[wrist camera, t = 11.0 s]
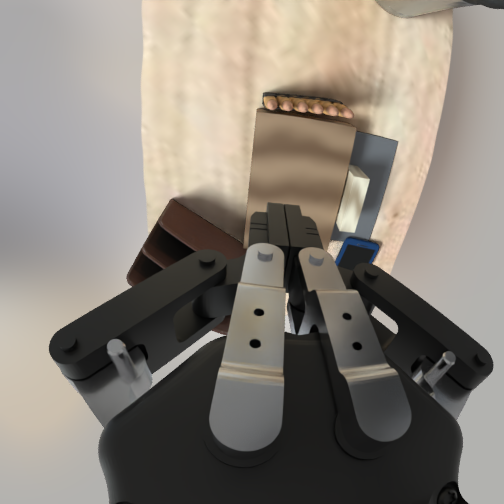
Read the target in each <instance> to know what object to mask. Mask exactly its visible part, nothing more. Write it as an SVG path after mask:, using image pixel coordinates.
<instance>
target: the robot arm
mask: <svg viewBox="0 0 504 504" xmlns="http://www.w3.org/2000/svg"><path fill="white" fill-rule="evenodd" d="M376 2H377V3H378V4H379V5H380V6H381V7H382V8H383V9H384V10H386V11H387V12H389V13H390V14H392V15H395V16H397V17H401V18H410V17H414V16H418V15H423V14H427V13H432V12H436V11H441V10H447V9H452V8H458V7H465V6H472V5H484V6H486V7H489V8H493V9H504V0H376ZM286 293H289V299H288V303H287V311H288V317H289V322H290V328H291V333H287V332H284V329H285V297H286ZM375 306H376V307H377V308H379V309H380V310H381V311H383V312H384V313H385V314H386V315H388V316H389V317H390V318H391V319H393V320H394V321H395V322H396V323H397V325H398V333H397V334H394V333H393V332H392V331H390V330H389V329H388V328H387V327H385V326H384V325H383V324H382V323H380V322H379V321H378V320H377V319H376V318H374V317H373V316H372V315H371V313H372V311H373V309H374V307H375ZM227 315H231V320H230V325H229V330H228V335H226V336H223V337H220V338H217V339H215V340H213V341H210V342H209V343H207V344H206V345H204V346H203V347H201V348H200V349H199V350H198V351H196V352H195V353H194V354H193V355H192V356H190V357H189V358H188V359H187V360H186V361H184V362H183V363H182V364H181V365H179V366H178V367H177V368H176V369H175V370H173V371H172V372H171V373H170V374H168V375H167V376H166V377H165V378H163V379H162V380H161V381H160V382H158V383H157V384H156V385H155V386H153V387H152V388H151V389H150V387H151V384H152V375H151V374H153V373H154V372H156V371H157V370H158V369H160V368H161V367H162V366H164V365H165V364H167V363H168V362H169V361H171V360H172V359H173V358H175V357H176V356H177V355H179V354H180V353H181V352H183V351H184V350H186V349H187V348H188V347H190V346H191V345H192V344H193V343H195V342H196V341H197V340H199V339H200V338H201V337H203V336H204V335H205V334H207V333H208V332H209V331H211V330H212V329H213V328H215V327H216V326H217V325H219V324H220V323H221V322H222V321H223V320H224V318H225V316H227ZM49 352H50V355H51V357H52V358H53V360H54V361H55V362H56V364H57V365H58V367H59V368H60V369H61V372H62V374H63V375H64V376H65V378H66V379H67V380H68V381H69V383H70V384H71V385H72V386H73V387H74V388H75V390H76V391H77V392H78V393H79V394H81V395H82V397H83V398H84V400H85V402H86V403H87V405H88V406H89V408H90V409H91V410H92V412H93V413H94V415H95V416H96V417H97V419H98V420H99V422H100V423H101V424H102V426H103V427H104V430H103V432H102V434H101V437H100V440H99V447H98V448H99V449H98V453H99V460H100V464H101V467H102V470H103V473H104V476H105V479H106V483H107V488H108V494H109V504H468V503H467V502H466V501H465V500H464V499H463V498H462V496H461V494H460V492H459V487H458V472H459V464H460V458H461V453H462V448H463V437H462V432H461V429H460V426H459V424H458V423H457V421H456V420H457V419H458V417H459V415H460V413H461V411H462V409H463V407H464V405H465V403H466V401H467V399H468V397H469V395H470V393H471V392H472V391H473V390H474V389H475V388H476V387H477V386H478V385H479V384H480V383H481V382H482V381H483V380H484V379H485V378H486V377H488V376H489V375H490V373H491V372H492V370H493V360H492V358H491V356H490V354H489V353H488V351H487V350H486V349H485V348H484V347H482V346H481V345H480V344H479V343H478V342H476V341H475V340H474V339H473V338H471V337H470V336H469V335H468V334H467V333H465V332H464V331H463V330H462V329H460V328H459V327H458V326H457V325H455V324H454V323H453V322H452V321H450V320H449V319H448V318H447V317H445V316H444V315H443V314H441V313H440V312H439V311H438V310H436V309H435V308H434V307H432V306H431V305H430V304H428V303H427V302H426V301H424V300H423V299H422V298H420V297H419V296H418V295H416V294H415V293H414V292H412V291H411V290H410V289H408V288H407V287H406V286H404V285H403V284H402V283H400V282H399V281H397V280H396V279H394V278H393V277H392V276H390V275H389V274H388V273H386V272H385V271H383V270H382V269H381V268H379V267H377V266H375V265H373V264H370V263H360V264H357V265H356V266H355V268H354V271H352V270H348V269H345V268H342V267H339V266H337V265H336V263H335V261H334V259H333V257H332V256H331V255H330V254H329V253H328V252H327V251H325V250H324V248H323V245H322V242H321V238H320V235H319V232H318V230H317V226H316V223H315V222H314V221H313V220H312V219H311V218H310V217H309V216H302V213H301V209H300V206H299V205H291V204H284V205H283V204H281V203H271V202H267V208H266V212H257V211H255V212H254V213H253V214H252V215H251V218H250V229H249V240H248V249H247V252H246V253H245V254H244V255H243V256H241V257H239V258H235V259H229V260H227V259H226V257H225V256H224V255H223V254H222V253H221V252H219V251H216V250H210V249H205V250H199V251H196V252H194V253H192V254H190V255H189V256H187V257H185V258H183V259H181V260H180V261H178V262H176V263H174V264H172V265H171V266H169V267H167V268H165V269H163V270H162V271H160V272H158V273H156V274H154V275H153V276H151V277H149V278H147V279H146V280H144V281H142V282H140V283H138V284H137V285H135V286H133V287H132V288H130V289H128V290H126V291H124V292H123V293H121V294H120V295H118V296H116V297H114V298H113V299H111V300H109V301H107V302H106V303H104V304H102V305H101V306H99V307H97V308H95V309H93V310H92V311H90V312H88V313H87V314H85V315H83V316H82V317H80V318H78V319H77V320H75V321H73V322H72V323H70V324H68V325H67V326H65V327H63V328H62V329H60V330H59V331H57V332H56V333H55V334H54V336H53V337H52V339H51V341H50V344H49Z"/></svg>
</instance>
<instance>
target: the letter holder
mask: <svg viewBox="0 0 504 504" xmlns="http://www.w3.org/2000/svg"><path fill="white" fill-rule="evenodd" d="M205 249H210V250H216V251H219V252H221V253H222V254H223V255H224V256H225V257H226V259H227V260H229V259H235V258H239V257H241V256H243V255H244V254H245V253H246V252H247V249H244V248H243V244H242V243H241V242H239V241H237V240H236V239H234V238H233V237H231V236H229V235H228V234H226V233H225V232H223V231H222V230H220V229H219V228H217V227H215V226H214V225H212V224H211V223H209V222H208V221H206V220H204V219H203V218H202V217H200V216H198V215H196V214H195V213H193V212H192V211H190V210H189V209H187V208H185V207H184V206H182V205H180V204H179V203H177V202H176V201H174V200H172V199H171V200H170V201H169V203H168V204H167V206H166V208H165V209H164V211H163V213H162V214H161V216H160V217H159V219H158V221H157V222H156V224H155V226H154V228H153V229H152V231H151V233H150V234H149V236H148V238H147V240H146V241H145V243H144V245H143V247H142V248H141V250H140V252H139V254H138V256H137V257H136V259H135V261H134V263H133V265H132V267H131V268H130V270H129V272H128V274H127V281H128V284H129V285H131V286H132V287H133V286H135V285H137V284H138V283H140V282H142V281H144V280H146V279H147V278H149V277H151V276H153V275H154V274H156V273H158V272H160V271H162V270H163V269H165V268H167V267H169V266H171V265H172V264H174V263H176V262H178V261H180V260H181V259H183V258H185V257H187V256H189V255H190V254H192V253H194V252H196V251H199V250H205ZM230 320H231V315H227V316H225V318H224V320H223V321H222V322H221V323H220V324H219V325H217V326H216V327H215V328H213V329H212V331H215V332H217V333H220V334H223V335H228V330H229V325H230Z"/></svg>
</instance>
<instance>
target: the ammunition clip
mask: <svg viewBox="0 0 504 504" xmlns="http://www.w3.org/2000/svg"><path fill="white" fill-rule="evenodd" d="M262 104H263V106H264V107H265V108H268V109H270V110H275V109H282V110H285V111H291V110H296V111H298V112H307V111H309V112H311V113H316V114H322V113H324V114H326V115H331V116H337V115H338V116H340V117H346V118H353V117H354V114H353V112H352V111H351V110H350V109H348V108H347V107H346V106H345V105H343V103H342V102H339V101H337V100H334V99H327V98H319V97H310V96H301V95H290V94H277V93H263V103H262ZM277 106H279V107H277ZM293 108H294V109H293Z"/></svg>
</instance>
